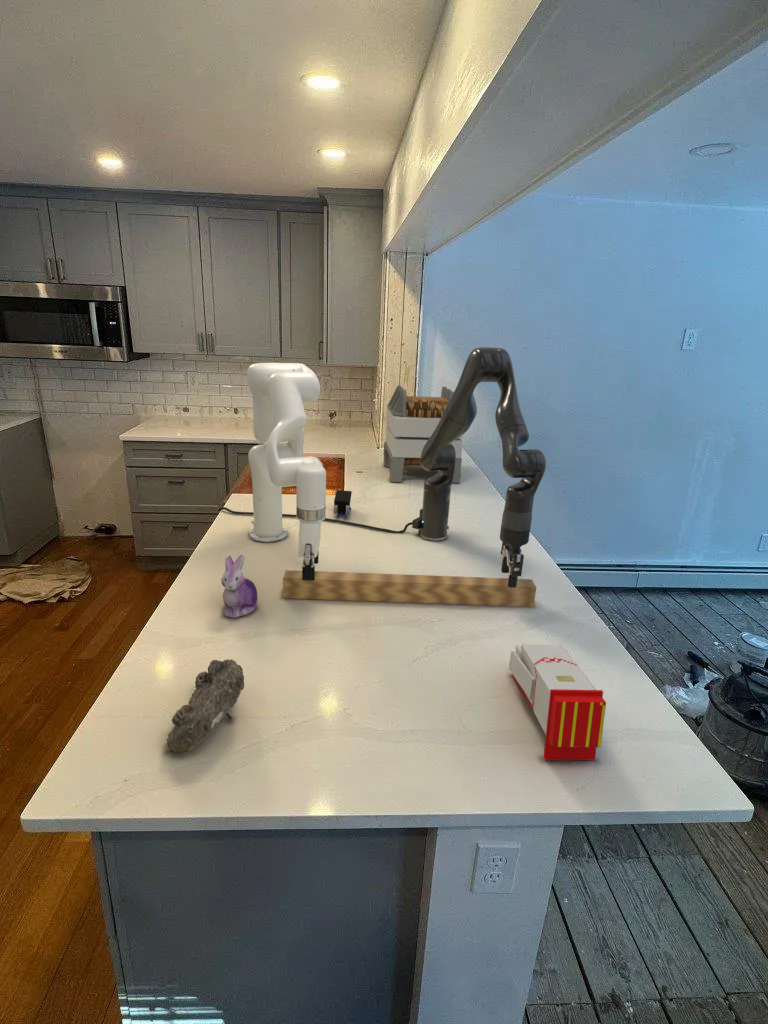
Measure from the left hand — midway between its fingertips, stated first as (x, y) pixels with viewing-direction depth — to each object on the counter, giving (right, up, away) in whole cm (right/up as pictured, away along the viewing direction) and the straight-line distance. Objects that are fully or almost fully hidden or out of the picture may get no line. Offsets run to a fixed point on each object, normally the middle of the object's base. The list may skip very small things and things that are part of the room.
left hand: (310, 571), depth 153 cm
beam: (+27, -8, +3) cm, 28 cm away
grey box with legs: (+37, +35, +122) cm, 132 cm away
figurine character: (+4, +15, +63) cm, 65 cm away
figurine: (-17, -9, -7) cm, 21 cm away
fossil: (-13, -23, -45) cm, 52 cm away
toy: (+52, -24, -39) cm, 69 cm away
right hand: (+54, -2, +1) cm, 54 cm away
